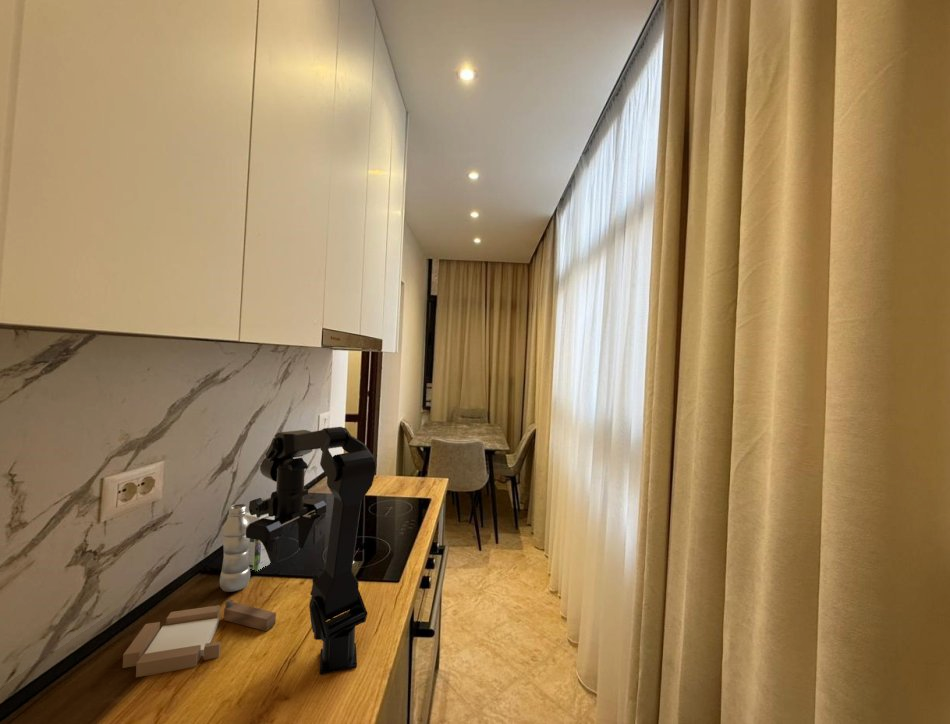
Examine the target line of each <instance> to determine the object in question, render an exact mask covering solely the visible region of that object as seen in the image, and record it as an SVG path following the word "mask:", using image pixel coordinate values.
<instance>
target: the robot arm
mask: <svg viewBox="0 0 950 724" xmlns="http://www.w3.org/2000/svg"><path fill="white" fill-rule="evenodd" d="M336 448H342V450H343V451H345V452H346V453H337V454H333V455H332V453H331V452H330V450H329V449H336ZM317 449H318V450H319V449H320V450H321V452H322V453H321V457H320V462H319V464H320V467H321V469H322V471H323V472H324V474H325V476H326V486H327V487H328V489H329V491H330V492H331V494H332V495H333V504H332V505H333V506H332V514H331V521H330V528H329V537H328V544H327V545H328V546H327V551H326V560H325V568H324V570H323V571H321V572H318V573H315V574H314V575H313V577H312V585H311V591H310V595H311V597H310V601H309V605H308V607H309V615H310V623H311V624H310V625H311V629H312V630H311V631H312V632H313V633H314V634H313V638H314V640H316V641H317V640H318V641H322V648H321V649H320V656H319V669H318V670H319V671H318V672H319V673H318V674H319V675H321V676H322V675H327V674H331V673H336V672H341V671H346V670H350V669H355V668H357V667H358V660H357V659H358V657H357V643H356V642H355V639H356V627H357V626H359V625H361V624H363V623H365V622H366V621H367V617H368V611H367V608H366V605H365V603H364V600H363V597H362V595H361V593H360V589H359V586H360V585H359V580H358V579H357V578H356V576H355V574H354V572H353V567H354V565H353V564H354V558H355V552H356V551H355V550H356V544H357V536H358V529H359V521H360V513H361V507H362V500H363V499H364V498H365V496H366V494H367V493H368V492H369V491H370V489H371V488H372V486H373V483H374V480H375V475H376V471H377V461H376V458H375V456H374V455H373V453H372V452H371V451H370V449H369V448H368V446H367V445H366V444H365V443H364V442H362V441H360V439H357V438H356V437H355V436H352V435H351V433H350V432H349V430H348V429H347V428H346V427H343V426H334V427H324V428H322V429H320V430H315V431H311V430H307V429H300V430H299V429H298V430H289V431H279V432H276V433H275V435H274V437H273V438H272V439H271V442H270V445H269V447H268V448H267V450H266V452H265V457H264V458H263V460H262V461H261V463H260V467H259V471H260V473H261V475H262V476H264V477H266V478H267V479H269V480H272V481H273V482H275V483H276V488H275V489H276V490H275V491H273V492H271V494H270V497H268V498H266V499H262V498H261V497H258V498H254V499H253V500H250V501H249V504H248V512H250V514H251V515H255V514H256V516H257V517H260V516H261V515H264V514H268V513H269V514H268V516H271V517H273V516H275V519H274V520H271V519H265V518H262V519H259V520H257V521H255V522H252V523H250V524H249V525H248V526H247V527H246V538H250V539H255V540H260V541H261V542H262V543H263V545H264V547H265V549H266V552H267V555H268V557H269V560H270V562H271V564H270V565H272V566H276V565H277V564H278V563H277V562H278V560H279V557H280V552H281V548H282V545H283V541H284V537H285V535H284V534H281V533H282V532H283V526H284V525H287V524H289V523H291V522H293V521H296V523H297V526H298V527H297V529H298V530H297V531H298V532H297V533H298V534H297V537H298V539H297V540H298V548H299V549H304V548H305V546H306V545H307V543H308V540H309V539H310V537H311V535H312V532H313V531H314V529H315V528H316V526H317V523H319V520H320V519H321V518H322V515H324V514H325V513H327V503H326V502H325V500H322V499H315V498H309V497H308V498H307V499H305V497H304V496H306V495H309V489H307V488H305V470H306V469H309V465H308V463H307V462H306V461H305V460H304V459H303V457H304V456H305V455H308V454H310V453H311V452H313V450H317Z"/></svg>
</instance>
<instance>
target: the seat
mask: <svg viewBox="0 0 950 724" xmlns="http://www.w3.org/2000/svg"><path fill="white" fill-rule="evenodd" d="M220 611H221V605H220V604H219V605H212V606H205V607H199V608H198V607H197V608H191V609H190V608H189V609H183V610H177V611H171V612H170V613H169V614H168V616H167V617H166V623H165V625H162V626H161V622H160V621H157V622H151V623H145V625H143V627H142V628H141V629H140V631H139V632H138V634H137V635H136V636H135V638H134V639H133V640H132V642H131V643H130V644H129V646H128V647H127V649H126V650H125V652H124V653H123V654H122V655H123V656H122V669H125V668H131V667H135V669H136V670H135V678H140V677H145V676H146V677H147V676H152V675H158V674H163V673H168V672H175V671H179V670H184V669H185V670H186V669H190V668H197V666H198V663H199V661H200V659H201V657H203V661H207V660H212V659H213V660H214V659H218V658H219V657H220V655H221V641H220V640H219V641H214V642H211V641H212V639H213V637H214V635H215V633H216V630H217V628H218V626H219V623H220V615H221V614H220V613H221V612H220Z"/></svg>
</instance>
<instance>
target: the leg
mask: <svg viewBox="0 0 950 724" xmlns="http://www.w3.org/2000/svg"><path fill="white" fill-rule="evenodd" d="M223 612H224V613H223V621H227V622H231V623H233V624H234V623H235V624H238V625H242V626H246V627H249V628H253V629H257V630H260V631H263V632H264V631H265V632H267V631H268V630H270V629H271V628H272V627H274V626H275V625H276V616H277V614H276V613H277V612H274V611H269V610H266V609H262V608H259V607H254V606H250V605H246V604H241V603H238V602H234V600H231V599H230V600H227V601H226V602H225V606H224V609H223Z"/></svg>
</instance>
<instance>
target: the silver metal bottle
mask: <svg viewBox="0 0 950 724" xmlns="http://www.w3.org/2000/svg"><path fill="white" fill-rule="evenodd" d="M246 513H248V512H247V504H243V503H238V504H237V503H235V504H232V505H230V506H229V511H228V516H229V518H228V519H226V521H225V522H224V525H223V527H222V528H221V536H222V544H223V560H222V566H221V572H220V576H219V587H220V589H222V591H223V592H226V593H234V592H237V591H241V590H242V589H245V587H247V585H248V584H249V582H250V579H251V570H250V568H249V558H248V551H249V549H248V548H249V541H250V538H246V527H247V526H248V525H249V524H250V523H251V521H250V520H249V519H248V518H247V516H246V515H245V514H246Z"/></svg>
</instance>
